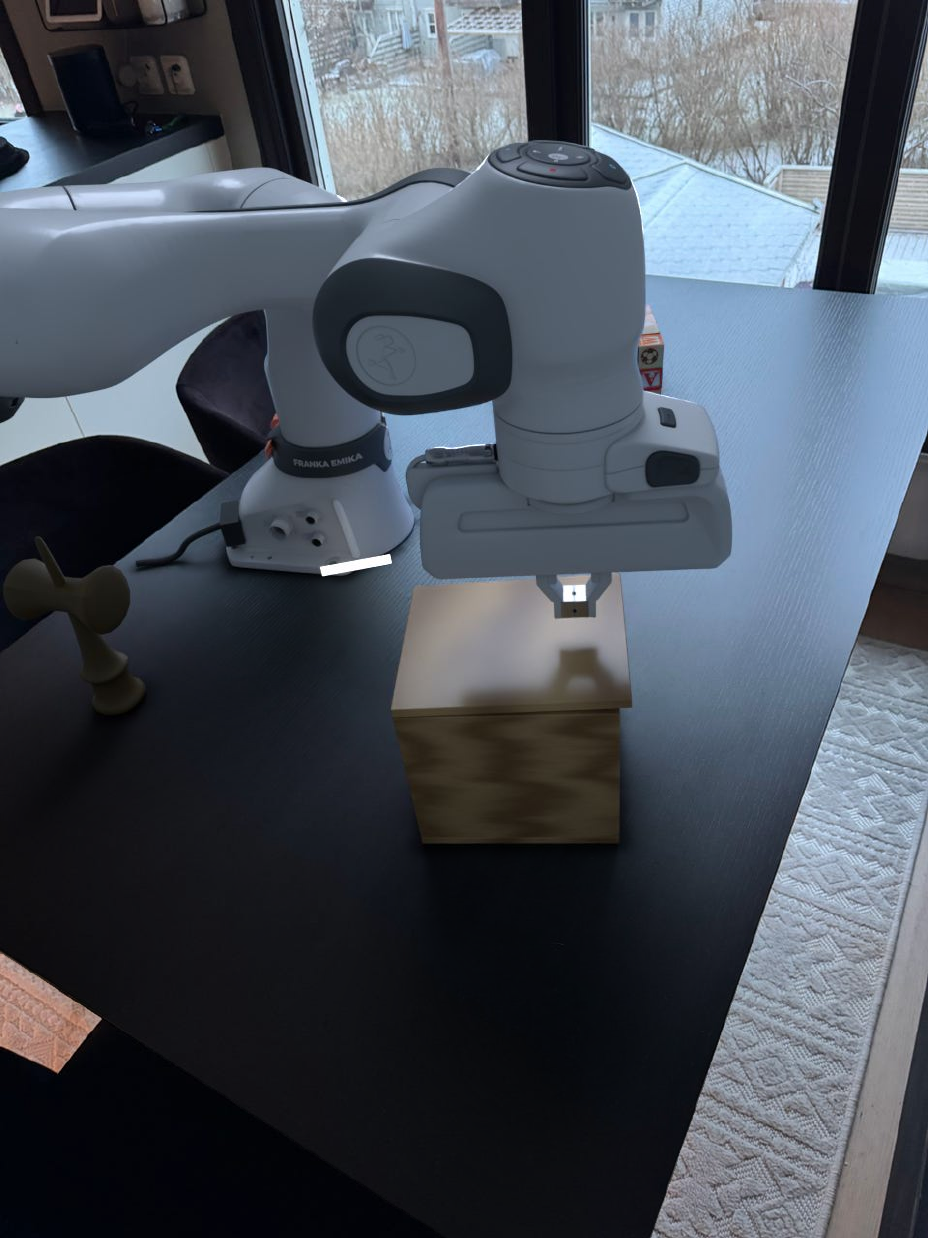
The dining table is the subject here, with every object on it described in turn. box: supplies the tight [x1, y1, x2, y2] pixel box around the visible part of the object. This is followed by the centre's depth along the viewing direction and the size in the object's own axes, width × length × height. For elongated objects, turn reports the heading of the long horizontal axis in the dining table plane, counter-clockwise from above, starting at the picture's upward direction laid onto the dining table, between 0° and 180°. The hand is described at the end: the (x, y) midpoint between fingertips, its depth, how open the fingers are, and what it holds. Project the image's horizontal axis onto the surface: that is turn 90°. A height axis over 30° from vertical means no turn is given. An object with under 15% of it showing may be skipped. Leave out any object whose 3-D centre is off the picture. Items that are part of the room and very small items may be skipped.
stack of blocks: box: [637, 304, 665, 395], centre depth 120 cm, size 21×6×12 cm, turn 179°
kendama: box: [2, 536, 147, 716], centre depth 81 cm, size 6×10×20 cm, turn 73°
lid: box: [390, 572, 633, 719], centre depth 65 cm, size 16×14×1 cm
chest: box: [392, 708, 621, 844], centre depth 70 cm, size 16×14×15 cm
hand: (575, 612), depth 63 cm, fingers closed
